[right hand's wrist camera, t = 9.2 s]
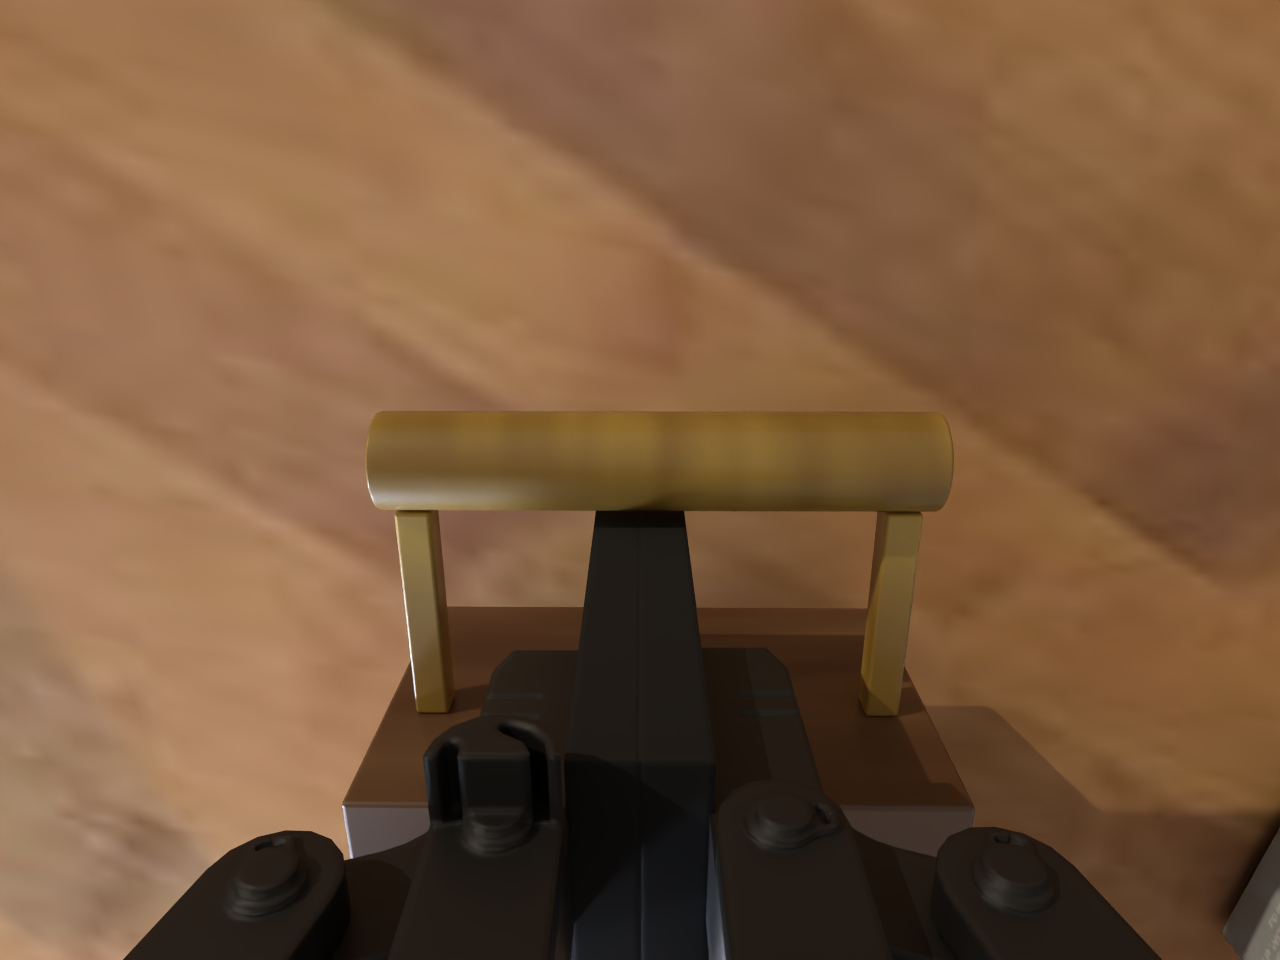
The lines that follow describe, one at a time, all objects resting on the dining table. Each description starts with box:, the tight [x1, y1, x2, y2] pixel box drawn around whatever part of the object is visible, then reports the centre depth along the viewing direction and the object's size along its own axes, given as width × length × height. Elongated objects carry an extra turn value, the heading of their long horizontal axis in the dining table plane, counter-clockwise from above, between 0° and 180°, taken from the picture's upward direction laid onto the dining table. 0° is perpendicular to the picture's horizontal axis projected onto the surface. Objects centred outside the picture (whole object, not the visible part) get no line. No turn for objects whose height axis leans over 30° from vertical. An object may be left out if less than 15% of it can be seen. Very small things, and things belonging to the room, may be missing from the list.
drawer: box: [342, 411, 975, 859], centre depth 18 cm, size 23×10×6 cm, turn 0°
